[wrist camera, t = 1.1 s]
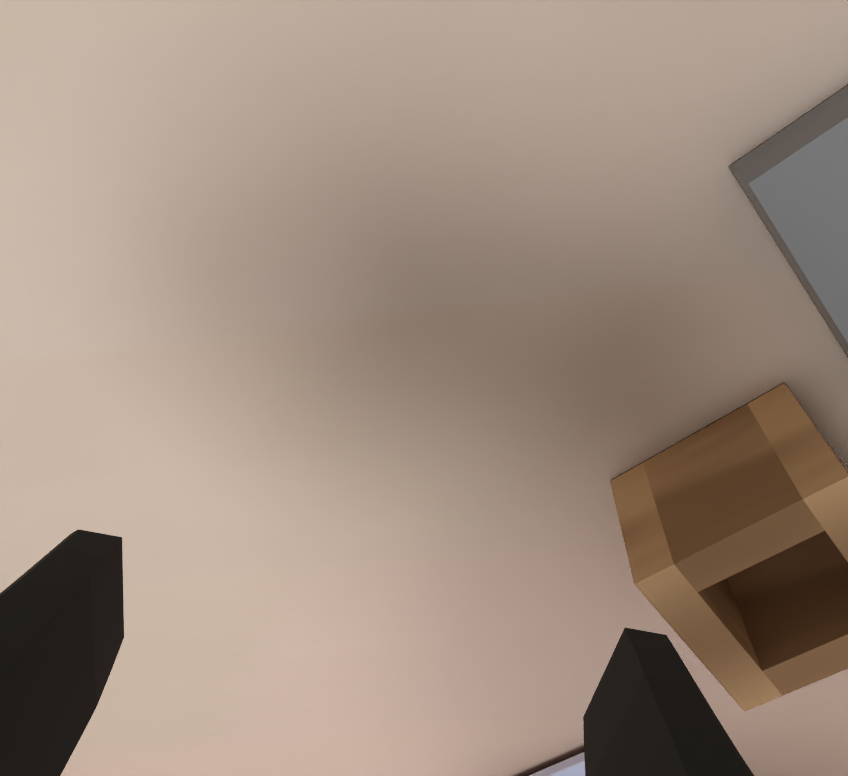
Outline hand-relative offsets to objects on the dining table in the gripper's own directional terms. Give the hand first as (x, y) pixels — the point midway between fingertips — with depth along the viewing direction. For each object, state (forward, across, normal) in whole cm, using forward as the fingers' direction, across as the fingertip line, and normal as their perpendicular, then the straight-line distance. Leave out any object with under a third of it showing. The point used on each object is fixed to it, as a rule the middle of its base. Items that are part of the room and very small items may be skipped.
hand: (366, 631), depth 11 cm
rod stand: (+10, -12, -5) cm, 16 cm away
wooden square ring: (+9, -10, +3) cm, 14 cm away
